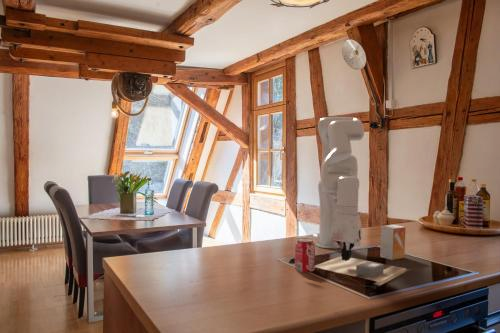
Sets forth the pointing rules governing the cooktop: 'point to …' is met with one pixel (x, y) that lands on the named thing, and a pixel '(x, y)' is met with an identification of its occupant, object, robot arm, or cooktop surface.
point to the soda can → (304, 255)
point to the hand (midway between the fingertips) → (345, 259)
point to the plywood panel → (350, 269)
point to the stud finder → (369, 269)
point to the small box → (392, 242)
